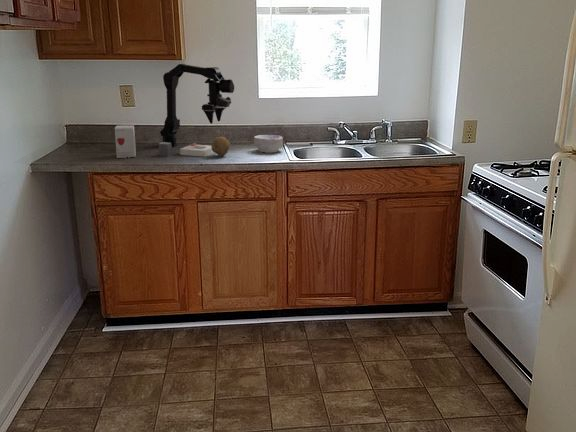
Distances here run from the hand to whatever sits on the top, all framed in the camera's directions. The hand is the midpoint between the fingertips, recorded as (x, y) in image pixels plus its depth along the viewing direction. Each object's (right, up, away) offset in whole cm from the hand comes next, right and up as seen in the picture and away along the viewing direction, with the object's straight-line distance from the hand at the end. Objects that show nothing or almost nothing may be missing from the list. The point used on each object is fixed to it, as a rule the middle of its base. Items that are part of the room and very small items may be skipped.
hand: (215, 122), depth 292 cm
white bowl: (+28, -15, +2) cm, 32 cm away
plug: (-24, -19, -11) cm, 32 cm away
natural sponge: (+4, -19, -12) cm, 23 cm away
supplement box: (-43, -20, -14) cm, 49 cm away
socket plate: (-8, -17, -5) cm, 19 cm away
